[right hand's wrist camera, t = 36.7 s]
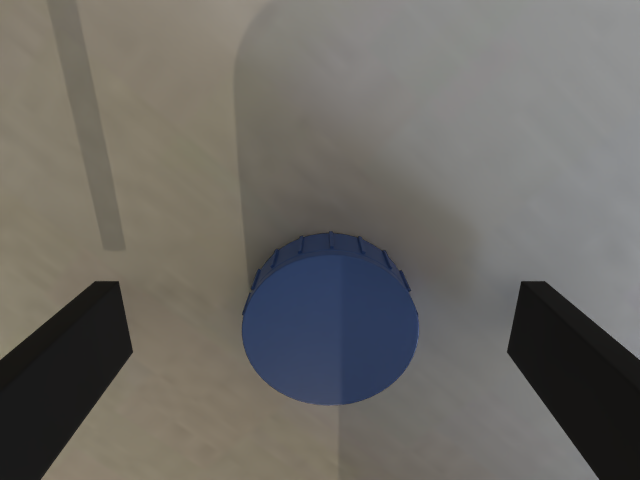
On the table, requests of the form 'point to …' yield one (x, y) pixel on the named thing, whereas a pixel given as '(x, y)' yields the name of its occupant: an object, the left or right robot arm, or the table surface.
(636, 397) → the right robot arm
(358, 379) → the lid
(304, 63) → the table surface
